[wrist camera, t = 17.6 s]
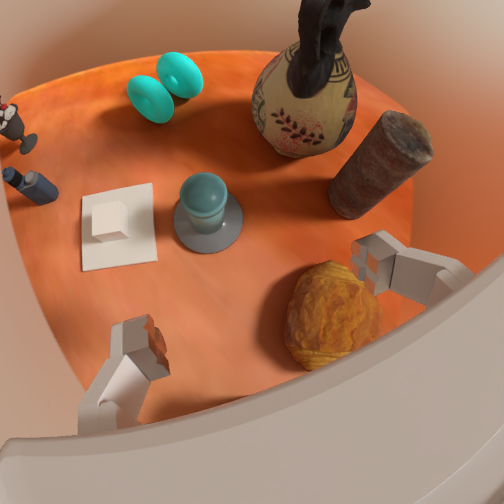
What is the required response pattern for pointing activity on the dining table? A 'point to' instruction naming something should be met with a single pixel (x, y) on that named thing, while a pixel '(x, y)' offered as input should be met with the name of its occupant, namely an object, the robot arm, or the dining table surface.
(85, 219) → the white cube on base
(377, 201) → the brown tall cylinder
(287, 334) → the brown oval lump
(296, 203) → the dining table surface
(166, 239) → the dining table surface
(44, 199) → the vaping device
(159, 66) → the donuts
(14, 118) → the sundae
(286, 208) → the dining table surface
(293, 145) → the ceramic jug
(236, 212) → the dish
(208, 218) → the teal domed cylinder
